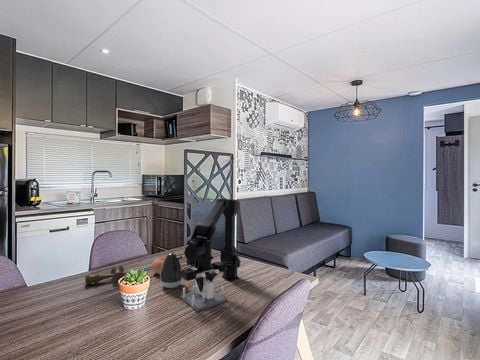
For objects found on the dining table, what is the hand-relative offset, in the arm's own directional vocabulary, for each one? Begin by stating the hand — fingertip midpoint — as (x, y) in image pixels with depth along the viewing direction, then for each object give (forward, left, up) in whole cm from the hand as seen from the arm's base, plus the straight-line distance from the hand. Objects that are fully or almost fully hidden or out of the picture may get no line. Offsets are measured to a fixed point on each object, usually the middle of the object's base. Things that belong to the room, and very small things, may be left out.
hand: (203, 290), depth 110 cm
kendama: (+26, -42, -4) cm, 50 cm away
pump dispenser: (+5, -20, -4) cm, 21 cm away
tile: (0, 0, -1) cm, 1 cm away
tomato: (+2, -38, -4) cm, 38 cm away
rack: (0, 0, -4) cm, 4 cm away
